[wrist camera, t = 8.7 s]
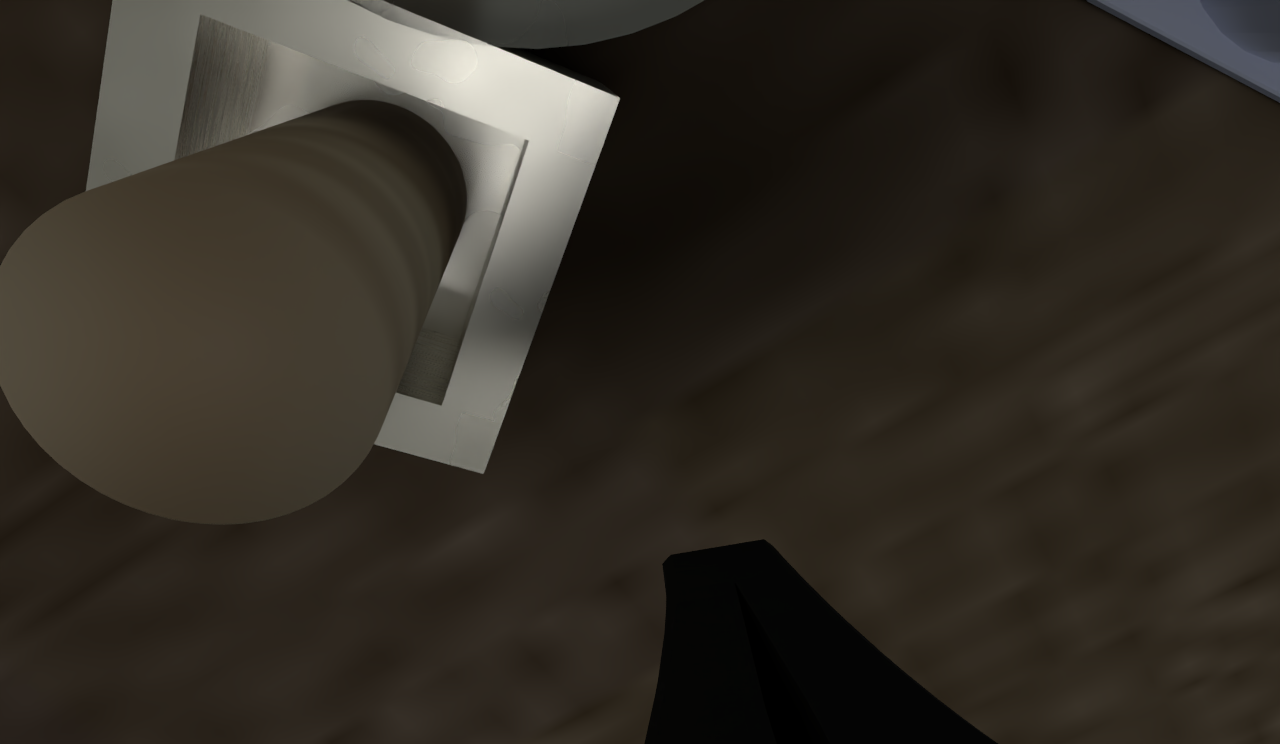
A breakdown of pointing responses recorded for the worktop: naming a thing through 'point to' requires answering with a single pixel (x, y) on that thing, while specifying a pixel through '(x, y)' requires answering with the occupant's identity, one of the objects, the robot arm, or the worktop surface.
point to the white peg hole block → (429, 87)
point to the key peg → (232, 313)
